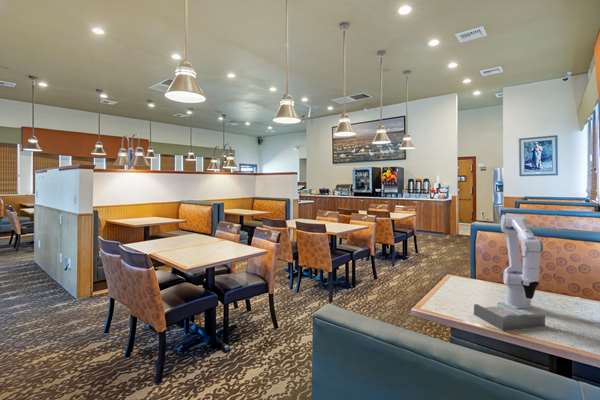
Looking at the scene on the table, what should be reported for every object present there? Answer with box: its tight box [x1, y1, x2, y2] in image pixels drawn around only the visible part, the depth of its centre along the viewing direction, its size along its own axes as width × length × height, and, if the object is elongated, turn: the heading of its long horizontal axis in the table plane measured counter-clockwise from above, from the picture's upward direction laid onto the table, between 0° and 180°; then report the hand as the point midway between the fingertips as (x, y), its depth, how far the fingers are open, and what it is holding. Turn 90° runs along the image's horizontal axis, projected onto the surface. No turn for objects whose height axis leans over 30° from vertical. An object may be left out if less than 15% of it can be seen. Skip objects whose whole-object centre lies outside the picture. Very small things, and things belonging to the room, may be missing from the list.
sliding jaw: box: [496, 301, 528, 316], centre depth 134 cm, size 2×13×4 cm, turn 11°
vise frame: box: [473, 303, 546, 331], centre depth 132 cm, size 20×16×4 cm
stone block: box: [484, 305, 517, 317], centre depth 134 cm, size 12×5×10 cm
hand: (529, 298), depth 133 cm, fingers closed
